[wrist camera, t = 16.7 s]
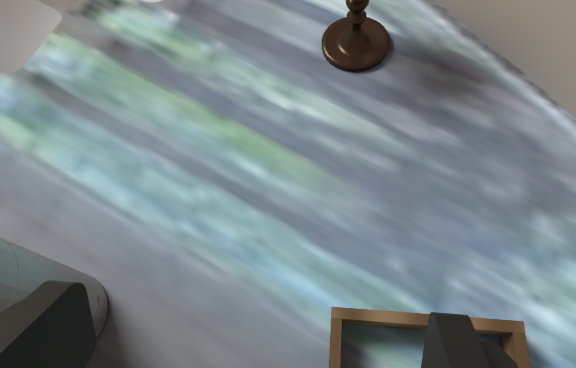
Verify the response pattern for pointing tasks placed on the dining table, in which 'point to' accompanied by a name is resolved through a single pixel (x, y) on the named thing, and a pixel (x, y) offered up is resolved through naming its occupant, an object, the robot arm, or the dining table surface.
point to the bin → (505, 329)
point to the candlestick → (355, 40)
